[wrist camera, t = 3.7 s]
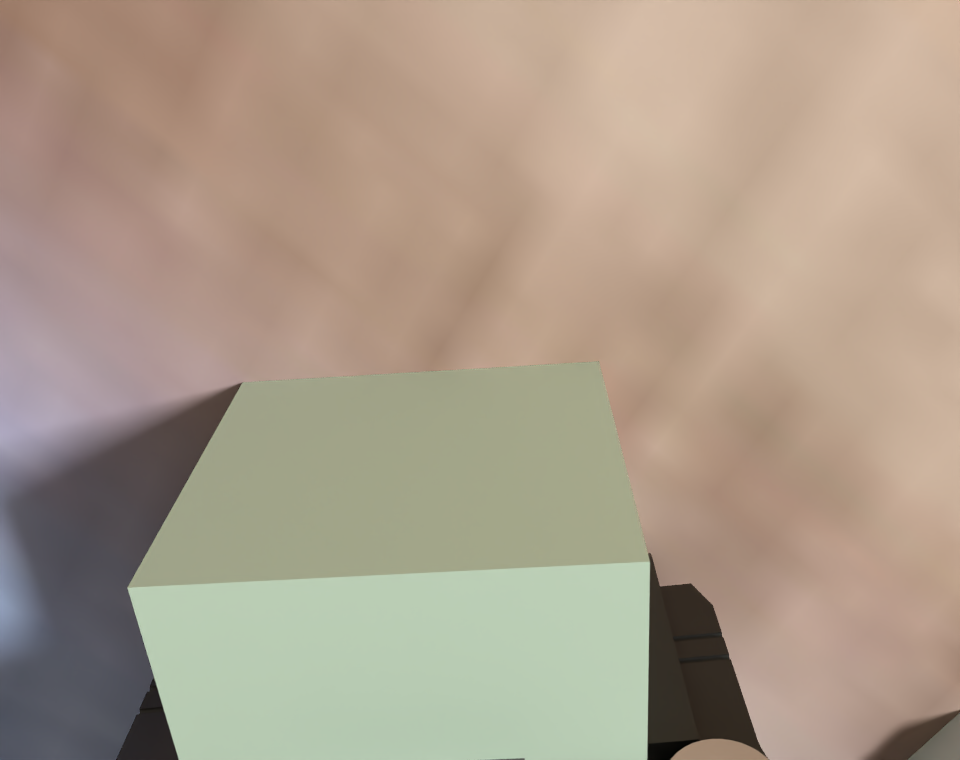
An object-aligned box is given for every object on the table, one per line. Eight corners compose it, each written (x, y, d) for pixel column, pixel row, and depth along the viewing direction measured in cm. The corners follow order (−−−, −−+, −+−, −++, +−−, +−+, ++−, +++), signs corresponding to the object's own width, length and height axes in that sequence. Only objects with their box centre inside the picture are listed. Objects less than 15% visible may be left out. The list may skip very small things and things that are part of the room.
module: (242, 382, 13) (103, 630, 8) (599, 361, 13) (660, 604, 8) (324, 782, 16) (259, 1113, 12) (604, 771, 16) (650, 1104, 11)
